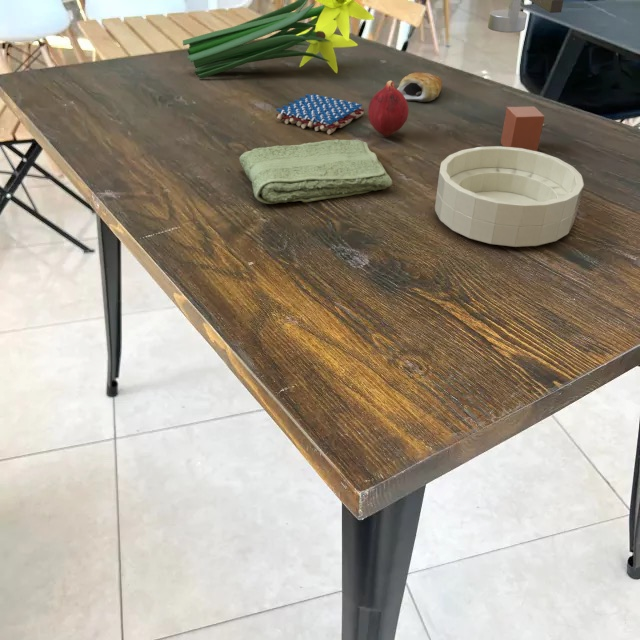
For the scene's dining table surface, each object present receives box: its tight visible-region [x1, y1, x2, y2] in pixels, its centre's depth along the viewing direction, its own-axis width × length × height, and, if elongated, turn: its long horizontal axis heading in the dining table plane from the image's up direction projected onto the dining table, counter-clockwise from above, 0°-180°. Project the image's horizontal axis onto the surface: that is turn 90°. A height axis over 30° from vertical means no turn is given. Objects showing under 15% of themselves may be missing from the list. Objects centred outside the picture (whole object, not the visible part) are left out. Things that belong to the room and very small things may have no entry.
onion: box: [367, 80, 410, 138], centre depth 93 cm, size 6×6×8 cm
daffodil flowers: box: [182, 0, 375, 79], centre depth 117 cm, size 17×15×35 cm
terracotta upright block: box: [500, 106, 545, 152], centre depth 91 cm, size 4×4×5 cm
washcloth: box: [238, 138, 393, 205], centre depth 83 cm, size 13×18×3 cm
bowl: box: [434, 145, 585, 248], centre depth 74 cm, size 16×16×6 cm
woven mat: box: [275, 93, 365, 135], centre depth 101 cm, size 10×11×2 cm
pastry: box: [396, 71, 443, 103], centre depth 110 cm, size 9×7×4 cm
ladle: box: [487, 0, 564, 33], centre depth 86 cm, size 19×5×7 cm, turn 5°
